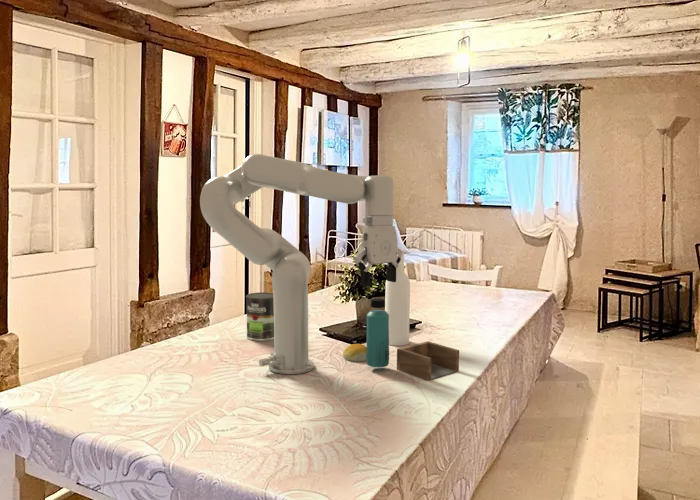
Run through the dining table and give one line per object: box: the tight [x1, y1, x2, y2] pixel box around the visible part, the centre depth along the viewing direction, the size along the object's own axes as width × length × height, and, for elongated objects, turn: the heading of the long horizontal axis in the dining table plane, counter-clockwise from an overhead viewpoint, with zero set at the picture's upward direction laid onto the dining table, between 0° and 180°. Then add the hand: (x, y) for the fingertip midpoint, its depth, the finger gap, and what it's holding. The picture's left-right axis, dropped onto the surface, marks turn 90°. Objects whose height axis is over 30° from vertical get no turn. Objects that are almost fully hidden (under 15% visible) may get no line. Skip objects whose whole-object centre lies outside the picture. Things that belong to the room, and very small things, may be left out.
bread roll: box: [342, 343, 367, 363], centre depth 186 cm, size 8×9×4 cm
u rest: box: [396, 341, 460, 381], centre depth 174 cm, size 12×12×6 cm
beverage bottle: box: [365, 297, 390, 368], centre depth 174 cm, size 6×7×20 cm
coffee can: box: [245, 291, 274, 342], centre depth 207 cm, size 10×10×14 cm
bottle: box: [384, 249, 411, 347], centre depth 200 cm, size 8×8×30 cm
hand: (378, 283), depth 172 cm, fingers open, 9 cm apart
